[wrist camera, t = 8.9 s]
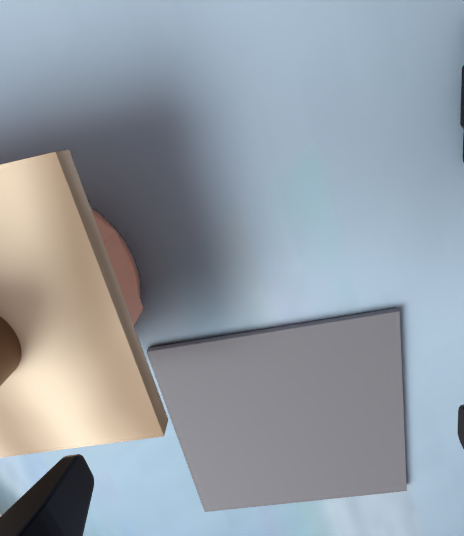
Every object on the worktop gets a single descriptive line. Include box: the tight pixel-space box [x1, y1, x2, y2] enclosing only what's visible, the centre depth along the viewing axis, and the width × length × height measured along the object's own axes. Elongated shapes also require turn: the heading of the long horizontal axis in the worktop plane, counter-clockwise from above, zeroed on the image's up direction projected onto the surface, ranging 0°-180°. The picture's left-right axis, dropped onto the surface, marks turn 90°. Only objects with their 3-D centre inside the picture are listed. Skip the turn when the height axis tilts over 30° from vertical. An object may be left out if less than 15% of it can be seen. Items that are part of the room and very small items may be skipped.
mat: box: [147, 308, 407, 512], centre depth 24 cm, size 15×15×1 cm
